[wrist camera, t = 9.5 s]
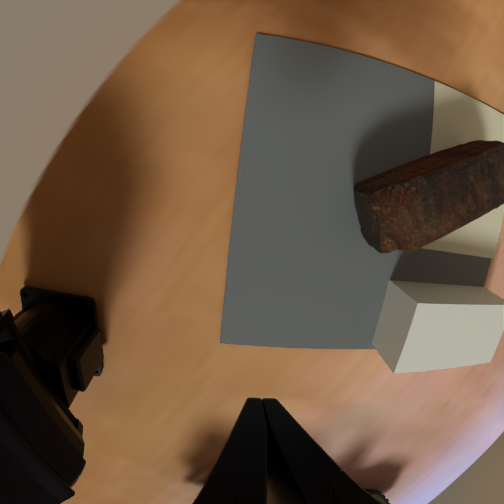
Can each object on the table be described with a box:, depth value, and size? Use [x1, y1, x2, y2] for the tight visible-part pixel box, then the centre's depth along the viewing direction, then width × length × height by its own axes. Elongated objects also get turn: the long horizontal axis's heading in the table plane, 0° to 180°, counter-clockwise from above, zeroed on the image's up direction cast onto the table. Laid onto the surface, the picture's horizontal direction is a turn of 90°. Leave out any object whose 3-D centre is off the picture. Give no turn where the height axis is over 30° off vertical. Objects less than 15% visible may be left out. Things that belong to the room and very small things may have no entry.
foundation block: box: [372, 280, 504, 373], centre depth 20 cm, size 10×5×4 cm, turn 83°
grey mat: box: [220, 34, 504, 349], centre depth 20 cm, size 22×20×1 cm
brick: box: [353, 140, 504, 254], centre depth 17 cm, size 11×4×5 cm, turn 113°
